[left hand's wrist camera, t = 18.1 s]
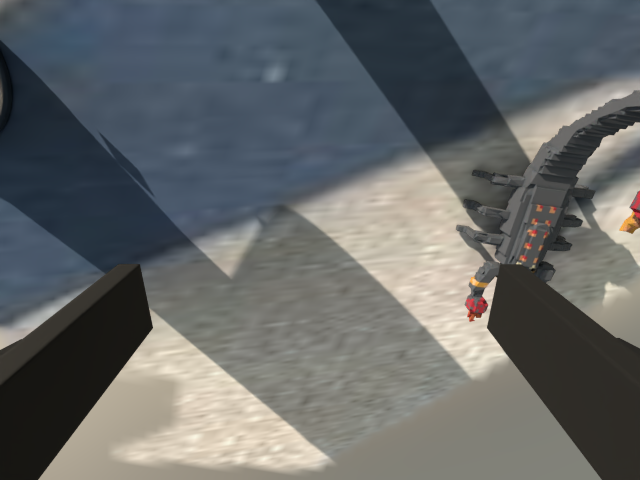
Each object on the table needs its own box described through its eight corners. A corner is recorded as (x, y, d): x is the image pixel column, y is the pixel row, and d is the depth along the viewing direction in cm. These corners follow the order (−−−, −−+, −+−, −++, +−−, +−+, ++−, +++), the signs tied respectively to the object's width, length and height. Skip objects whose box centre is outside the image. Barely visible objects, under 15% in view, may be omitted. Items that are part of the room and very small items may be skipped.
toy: (619, 103, 37) (877, 100, 20) (530, 314, 46) (653, 435, 29) (499, 84, 36) (658, 64, 19) (433, 302, 46) (501, 418, 29)
